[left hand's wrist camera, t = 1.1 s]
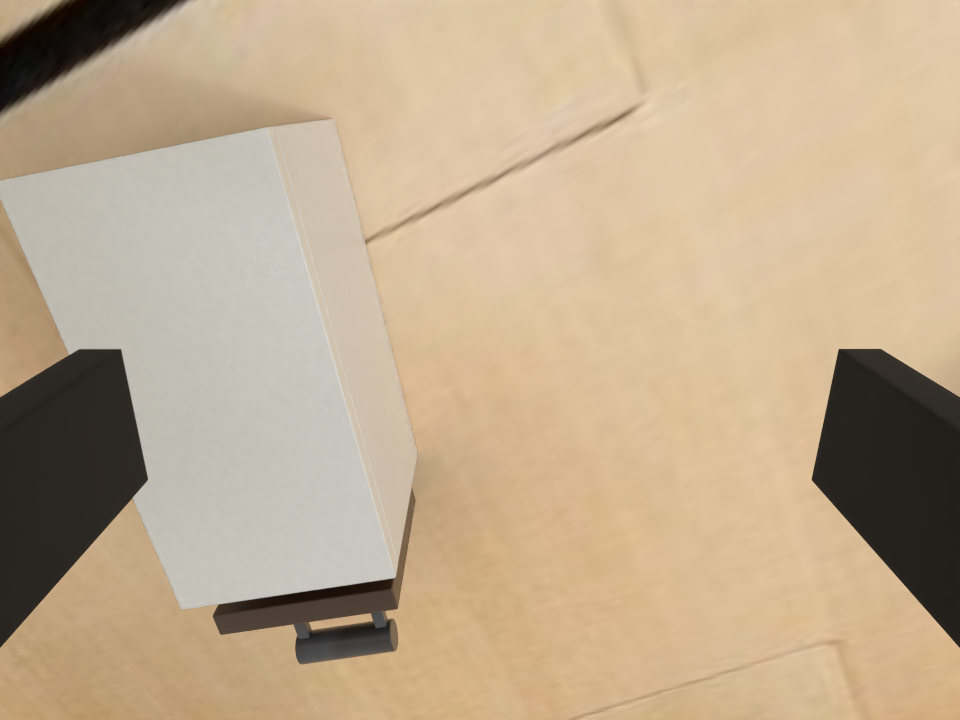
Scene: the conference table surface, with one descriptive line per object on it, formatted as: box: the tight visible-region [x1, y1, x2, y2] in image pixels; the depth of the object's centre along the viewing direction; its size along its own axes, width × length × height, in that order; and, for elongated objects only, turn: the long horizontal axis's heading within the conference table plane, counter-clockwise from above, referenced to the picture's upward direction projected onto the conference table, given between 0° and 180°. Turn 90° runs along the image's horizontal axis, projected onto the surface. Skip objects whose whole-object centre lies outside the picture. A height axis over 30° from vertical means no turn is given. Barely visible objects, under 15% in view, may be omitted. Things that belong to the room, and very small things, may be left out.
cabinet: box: [0, 119, 418, 610], centre depth 31 cm, size 19×10×11 cm, turn 11°
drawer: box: [213, 488, 415, 664], centre depth 33 cm, size 23×9×9 cm, turn 11°
